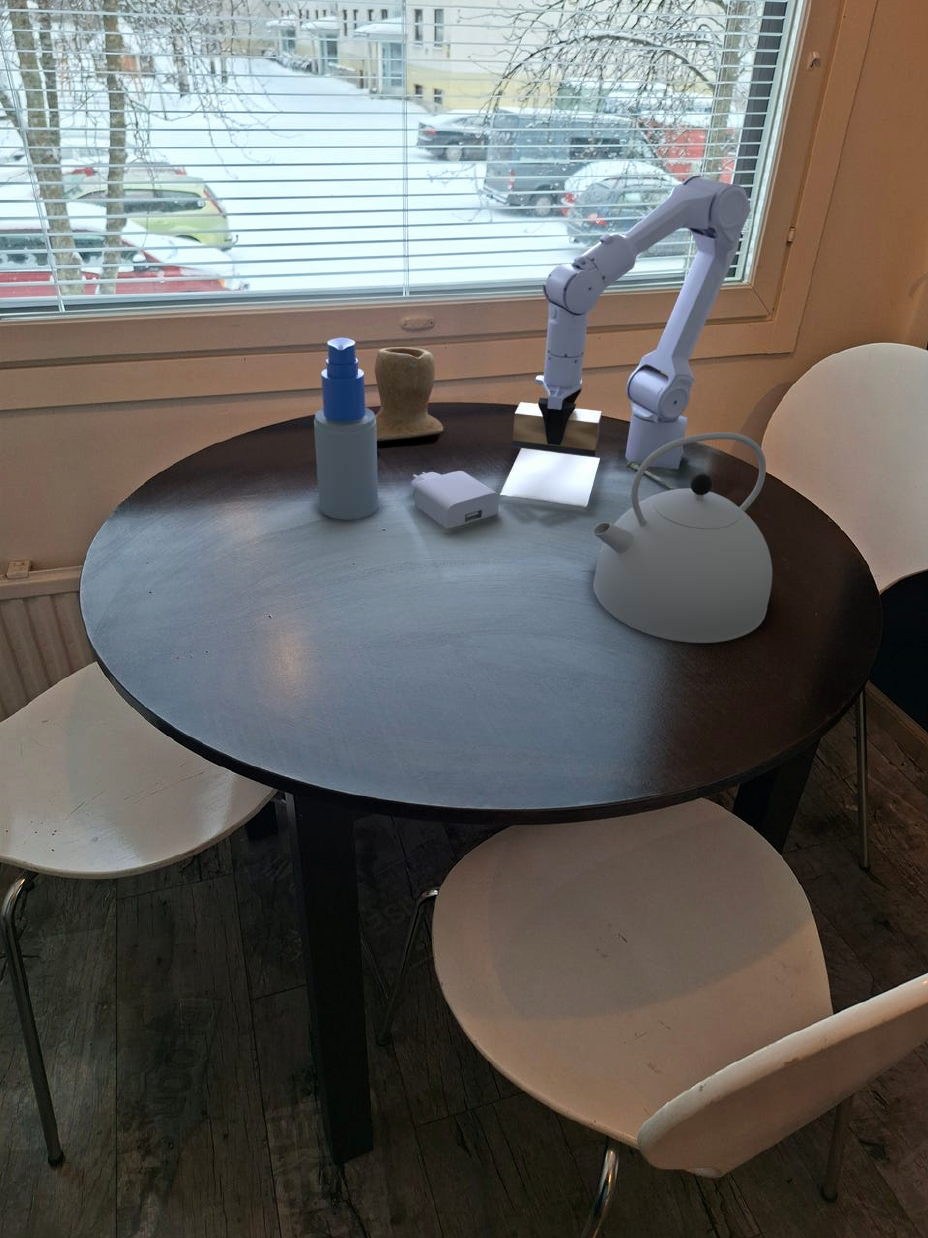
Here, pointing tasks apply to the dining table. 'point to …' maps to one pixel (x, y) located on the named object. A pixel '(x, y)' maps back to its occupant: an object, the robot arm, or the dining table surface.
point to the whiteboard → (552, 477)
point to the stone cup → (404, 393)
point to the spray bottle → (345, 438)
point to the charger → (454, 498)
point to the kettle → (686, 560)
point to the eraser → (576, 436)
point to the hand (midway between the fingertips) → (556, 436)
